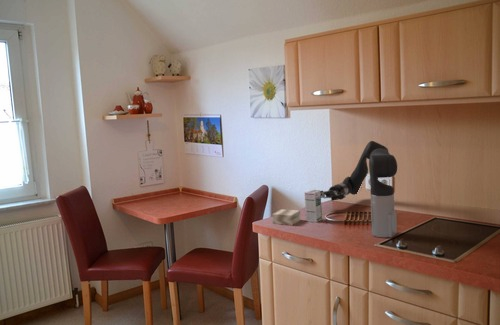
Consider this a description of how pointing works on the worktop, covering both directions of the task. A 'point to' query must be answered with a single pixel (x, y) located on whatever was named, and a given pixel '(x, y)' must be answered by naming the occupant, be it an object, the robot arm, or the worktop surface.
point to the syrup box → (313, 205)
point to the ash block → (286, 217)
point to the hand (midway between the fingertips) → (324, 198)
